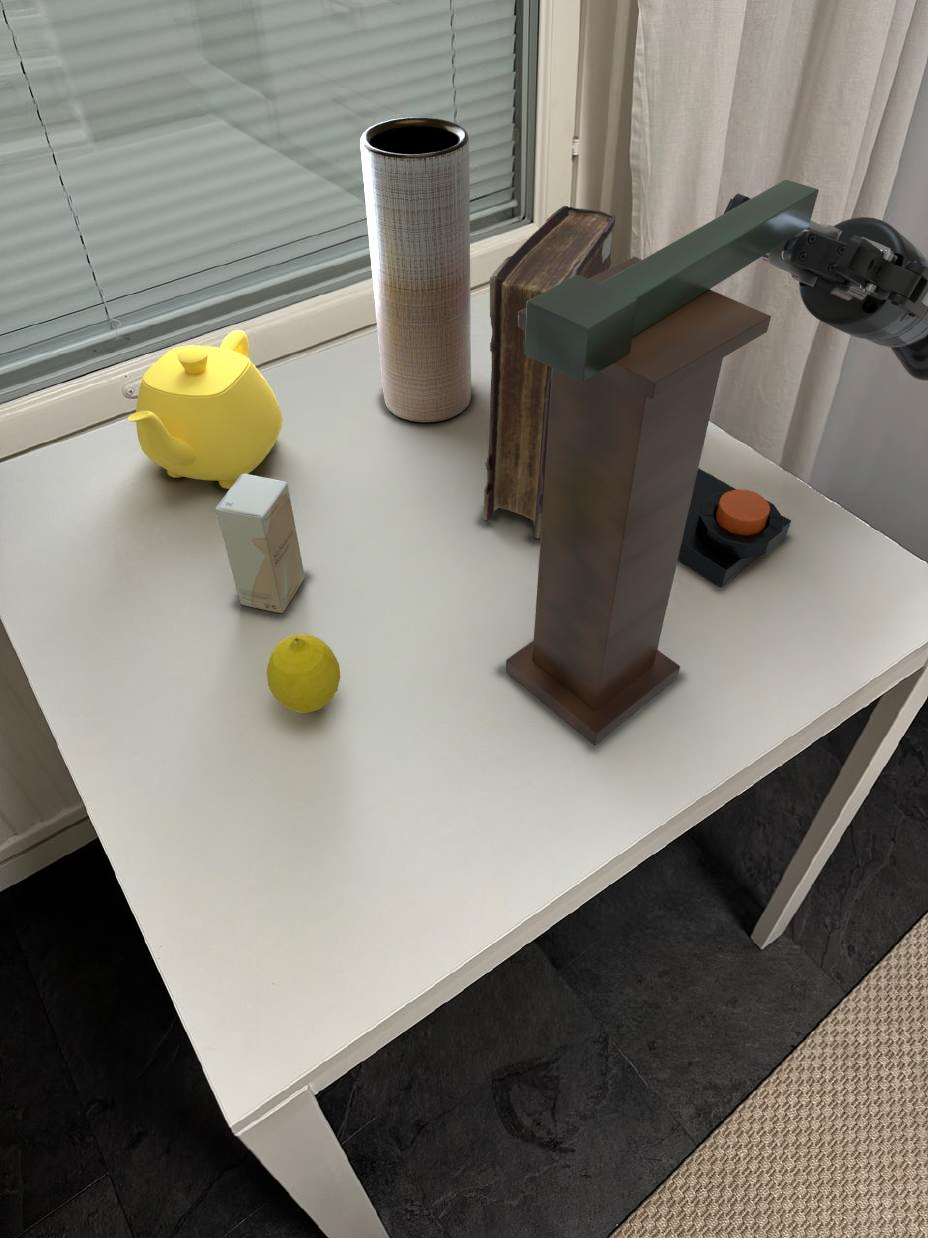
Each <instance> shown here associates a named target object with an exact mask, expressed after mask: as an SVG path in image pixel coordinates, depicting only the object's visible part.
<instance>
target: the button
mask: <svg viewBox="0 0 928 1238" xmlns="http://www.w3.org/2000/svg"><path fill="white" fill-rule="evenodd" d="M767 501H768V499H766V498H765V497H764V496H762V494H759V493H757V492H755V491H752V490H749V489H737V490H732V491H729V492H726V493H725V494H724V495H723V496H722V497H721V498H720V501H719V505H718V509H717V513H716V520H717V522H718V524H719V525H720V526H721V527H722V528H724V529H726V530H727V531H729V532H731V533H736V534H741V535H752V534H757V533H759V532H760V531H762V530H763V528H764V527H765V524H766V521H767V518H768V514H769V511H770V506H769V503H768V502H767Z"/></svg>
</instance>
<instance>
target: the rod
mask: <svg viewBox="0 0 928 1238" xmlns="http://www.w3.org/2000/svg"><path fill="white" fill-rule="evenodd" d="M819 192H820V191H819V188H816V187H812V186H809V185H805V184H803V183H799V182H795V181H792V180H790V179H789V180H788V179H783V180H782V181H780V182H778V183H777V184H775V185H773V186H771V187H769V188H767V189H766V190H764V191H762V192H760V193H759V194H757V195H755V196H753V197H751V198H750V200H748V201H746V202H744V203H743V204H741V205H739V206H737V207H735V208H734V209H732V210H730V211H728V212H727V213H725V214H724V213H723V214H720V215H719V216H717V217H716V218H714V219H712V220H711V221H709V222H707V223H705V224H703V225H702V226H700V227H698V228H696V229H694V230H693V231H691V232H689V233H687V234H686V235H684V236H682V237H680V238H679V239H677V240H675V241H673V242H671V243H670V244H668V245H666V246H664V247H662V248H661V249H659V250H657V251H656V252H654V253H652V254H650V255H648V256H646V257H644V258H643V259H641V261H639V262H638V263H636V264H634V265H632V266H630V267H629V268H627V269H625V270H623V271H622V272H620V273H618V274H616V275H614V276H613V277H611V278H609V279H607V280H605V281H604V282H602V283H600V284H599V283H596V282H594V281H591V280H589V279H587V278H584V277H582V276H579V275H575V276H573V277H571V278H569V279H567V280H565V281H564V282H562V283H560V284H558V285H556V286H554V287H553V288H551V289H549V290H547V291H545V292H543V293H542V294H540V295H538V296H536V297H534V298H532V299H530V300H529V301H527V309H526V332H525V355H527V356H529V357H531V358H534V359H536V360H538V361H540V362H542V363H544V364H546V365H548V366H550V367H552V368H554V369H556V370H558V371H560V372H562V373H565V374H567V375H569V376H571V377H573V378H575V379H577V380H579V381H581V382H584V381H586V380H588V379H589V378H591V377H592V376H594V375H595V374H597V373H599V372H600V371H602V370H603V369H605V368H606V367H608V366H610V365H611V364H613V363H614V362H616V361H617V360H619V359H621V358H622V357H624V356H625V355H627V354H628V353H630V351H631V344H632V338H633V337H634V336H636V335H637V334H639V333H641V332H642V331H644V330H645V329H647V328H649V327H650V326H652V325H653V324H655V323H657V322H658V321H660V320H661V319H663V318H665V317H666V316H668V315H669V314H671V313H672V312H674V311H676V310H677V309H679V308H680V307H682V306H684V305H685V304H687V303H688V302H690V301H692V300H693V299H695V298H696V297H698V296H700V295H701V294H703V293H704V292H706V291H708V290H709V289H710V290H712V289H713V288H714V287H715V286H717V285H719V284H720V283H722V282H724V281H725V280H727V279H728V278H730V277H732V276H733V275H735V274H736V273H738V272H740V271H741V270H743V269H744V268H746V267H748V266H749V265H751V264H753V263H754V262H756V261H757V260H758V259H760V258H762V256H763V255H765V254H767V253H768V252H770V251H771V250H773V249H775V248H776V247H778V246H779V245H781V244H783V243H784V242H786V241H787V240H789V239H791V238H792V237H794V236H795V235H797V234H799V233H800V232H802V231H806V229H807V228H808V227H809V224H810V221H812V217H813V213H814V209H815V206H816V203H817V202H816V201H817V198H818V194H819Z"/></svg>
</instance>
